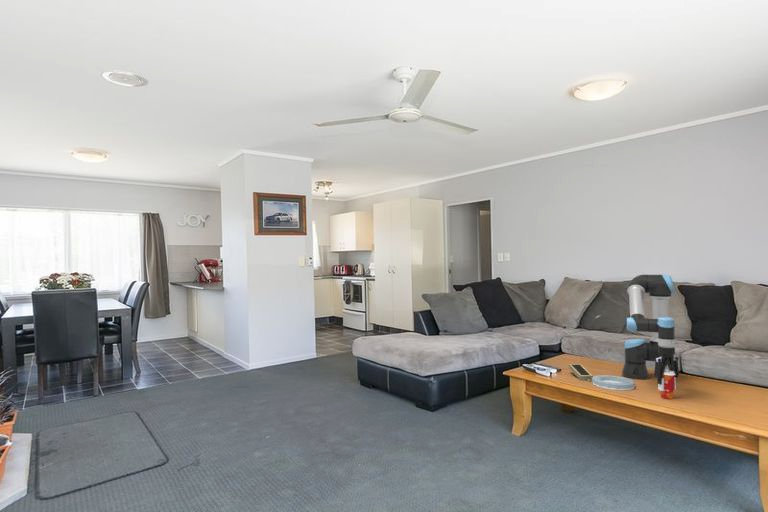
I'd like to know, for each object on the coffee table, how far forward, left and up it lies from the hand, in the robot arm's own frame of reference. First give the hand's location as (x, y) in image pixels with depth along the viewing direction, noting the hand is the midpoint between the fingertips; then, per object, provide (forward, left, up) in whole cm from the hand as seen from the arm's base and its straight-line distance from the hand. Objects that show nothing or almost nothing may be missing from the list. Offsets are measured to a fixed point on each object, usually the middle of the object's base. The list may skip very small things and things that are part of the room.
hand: (667, 389), depth 233 cm
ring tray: (+8, -28, -4) cm, 29 cm away
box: (+13, -48, -5) cm, 50 cm away
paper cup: (0, 0, -4) cm, 4 cm away
